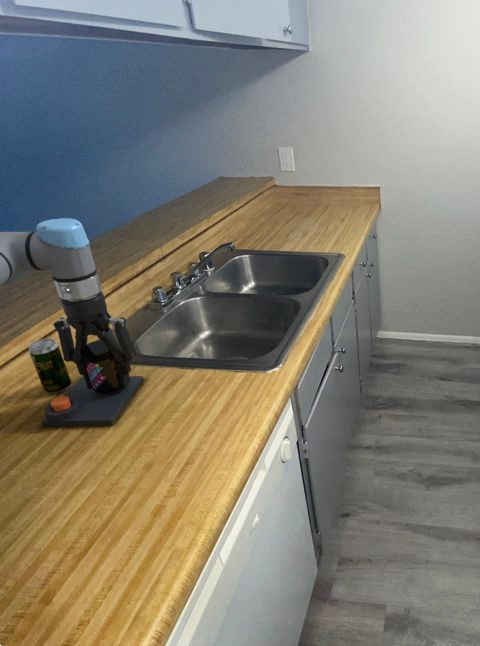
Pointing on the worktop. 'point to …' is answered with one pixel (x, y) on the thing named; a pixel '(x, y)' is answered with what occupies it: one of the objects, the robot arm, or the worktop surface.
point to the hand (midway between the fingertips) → (109, 384)
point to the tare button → (61, 403)
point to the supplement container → (101, 367)
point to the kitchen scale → (92, 405)
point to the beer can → (50, 366)
